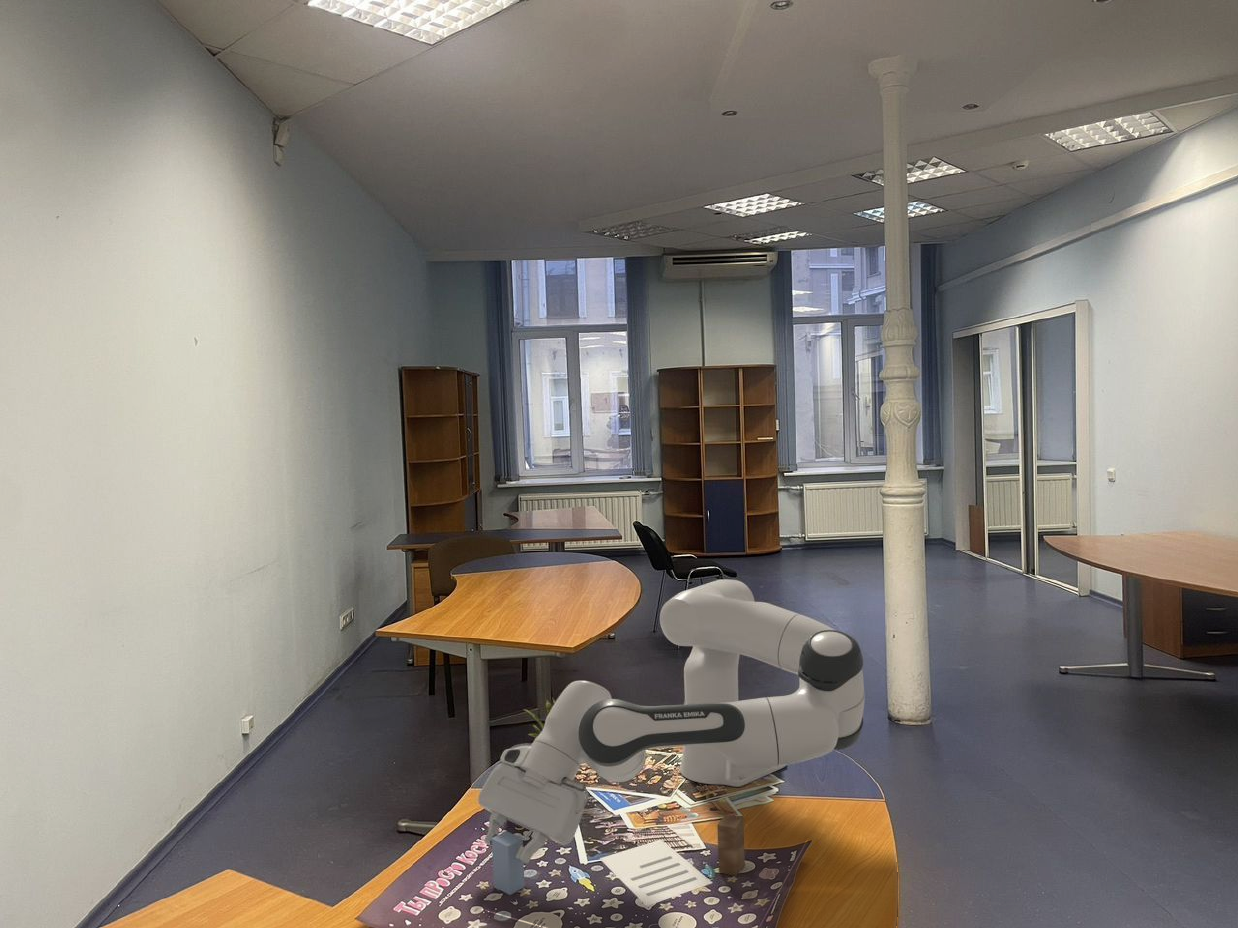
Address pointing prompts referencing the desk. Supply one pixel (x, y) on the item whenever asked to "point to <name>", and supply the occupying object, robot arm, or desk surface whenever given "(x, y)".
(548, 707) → the house plant
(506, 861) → the slate block
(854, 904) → the desk surface
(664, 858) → the letter
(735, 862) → the walnut block
